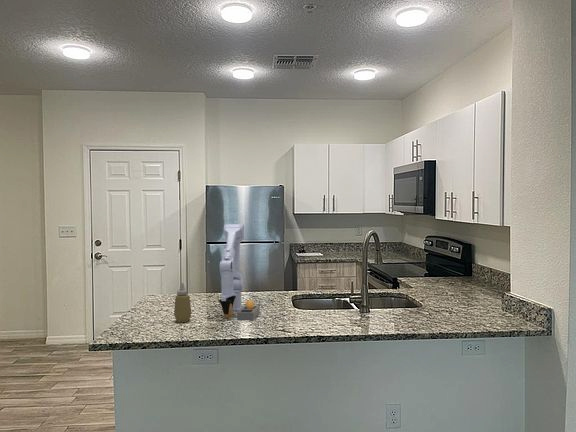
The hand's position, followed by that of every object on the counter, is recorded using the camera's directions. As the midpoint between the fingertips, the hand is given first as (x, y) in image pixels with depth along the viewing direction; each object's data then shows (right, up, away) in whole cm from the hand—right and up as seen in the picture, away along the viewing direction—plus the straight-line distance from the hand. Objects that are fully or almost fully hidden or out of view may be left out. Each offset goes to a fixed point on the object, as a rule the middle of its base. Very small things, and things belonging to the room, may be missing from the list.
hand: (228, 312), depth 222 cm
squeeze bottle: (-20, -3, -7) cm, 22 cm away
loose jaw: (0, -2, 0) cm, 2 cm away
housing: (+10, -2, 0) cm, 10 cm away
